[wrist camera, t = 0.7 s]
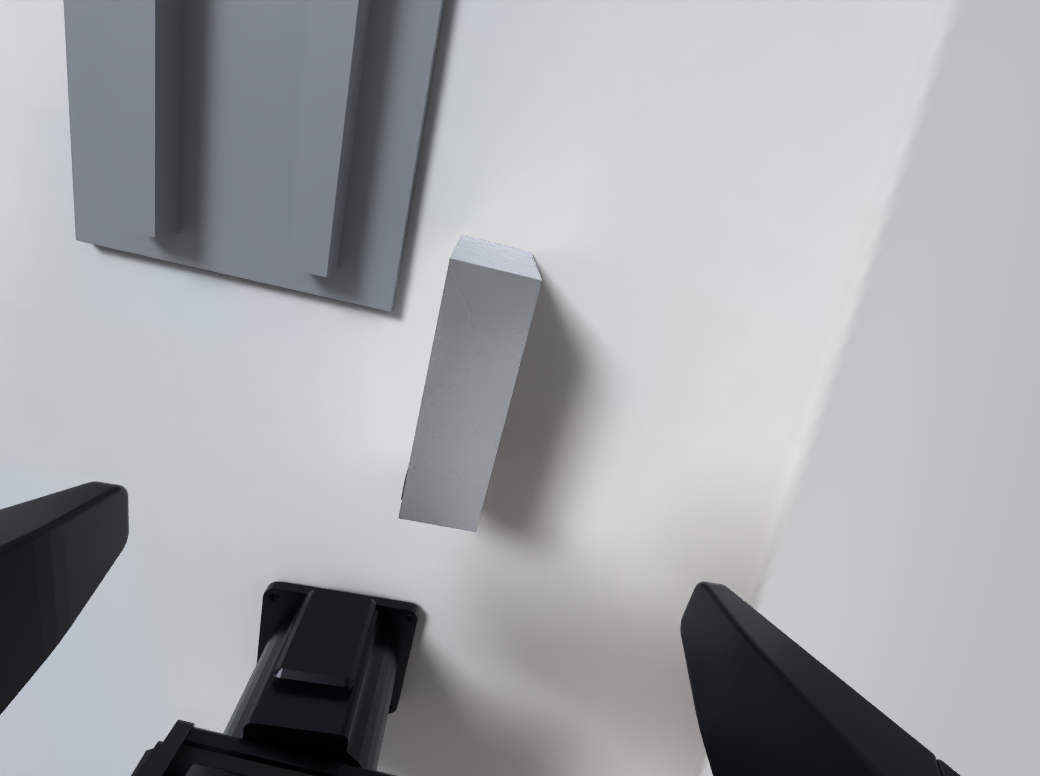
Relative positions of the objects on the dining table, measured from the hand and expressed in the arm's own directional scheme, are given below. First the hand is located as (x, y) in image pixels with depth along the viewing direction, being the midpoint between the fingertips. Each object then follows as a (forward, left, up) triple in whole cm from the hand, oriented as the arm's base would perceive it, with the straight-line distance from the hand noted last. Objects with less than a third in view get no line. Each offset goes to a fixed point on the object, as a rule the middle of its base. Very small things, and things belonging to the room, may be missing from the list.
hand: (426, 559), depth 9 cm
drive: (-1, 0, -12) cm, 12 cm away
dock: (+7, +8, -12) cm, 16 cm away
